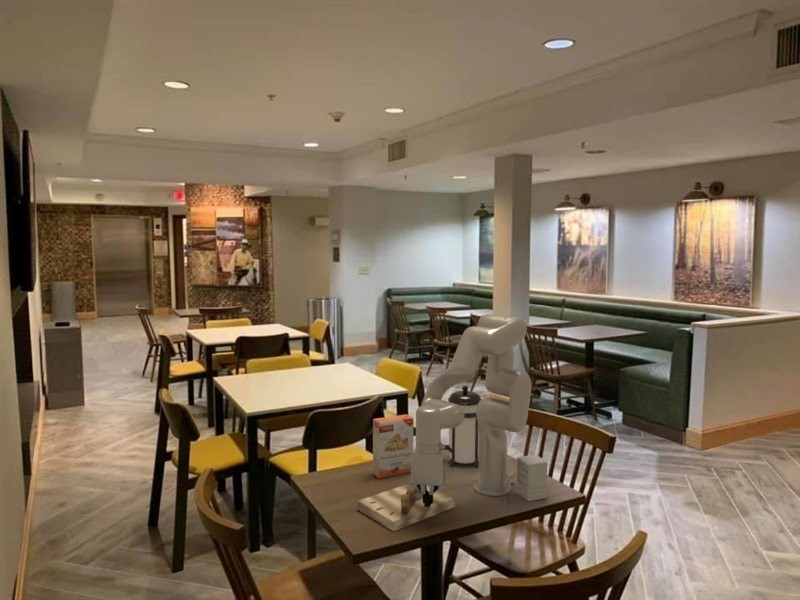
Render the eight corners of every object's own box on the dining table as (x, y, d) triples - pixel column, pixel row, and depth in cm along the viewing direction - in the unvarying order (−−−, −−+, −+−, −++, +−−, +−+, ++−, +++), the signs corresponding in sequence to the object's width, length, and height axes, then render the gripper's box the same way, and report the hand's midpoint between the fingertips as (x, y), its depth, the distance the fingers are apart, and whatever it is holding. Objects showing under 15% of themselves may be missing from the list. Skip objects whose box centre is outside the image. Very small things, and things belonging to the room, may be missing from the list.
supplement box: (535, 489, 202) (535, 454, 200) (547, 498, 195) (548, 461, 193) (516, 492, 199) (516, 456, 198) (527, 501, 192) (528, 464, 191)
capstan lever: (409, 491, 192) (409, 476, 192) (424, 493, 191) (424, 478, 190) (394, 515, 175) (394, 499, 175) (410, 517, 174) (410, 501, 174)
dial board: (417, 489, 202) (417, 480, 202) (454, 507, 188) (454, 497, 188) (357, 509, 186) (357, 500, 186) (393, 531, 172) (393, 520, 172)
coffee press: (463, 451, 238) (464, 378, 235) (492, 463, 225) (493, 386, 222) (430, 461, 228) (430, 385, 225) (458, 474, 215) (458, 393, 212)
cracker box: (379, 480, 210) (379, 422, 208) (372, 474, 215) (372, 418, 213) (414, 473, 216) (414, 417, 214) (406, 467, 222) (406, 413, 219)
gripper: (454, 445, 180) (454, 502, 182) (406, 441, 183) (406, 498, 185) (450, 453, 173) (450, 513, 174) (401, 449, 176) (401, 508, 178)
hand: (427, 505), depth 180 cm, fingers closed
